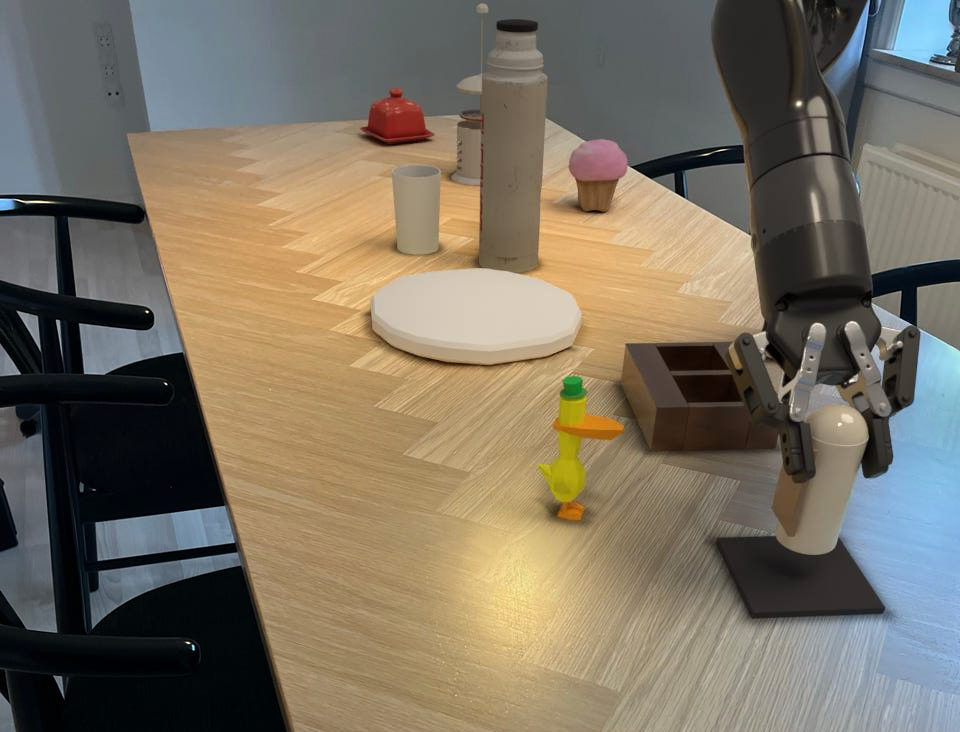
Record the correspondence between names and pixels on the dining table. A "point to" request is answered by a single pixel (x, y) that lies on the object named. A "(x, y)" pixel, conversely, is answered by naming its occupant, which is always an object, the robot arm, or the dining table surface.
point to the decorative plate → (475, 316)
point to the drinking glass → (417, 208)
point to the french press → (470, 127)
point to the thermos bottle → (512, 149)
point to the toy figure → (574, 446)
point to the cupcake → (597, 172)
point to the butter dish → (396, 120)
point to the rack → (689, 398)
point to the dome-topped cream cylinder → (822, 482)
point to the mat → (796, 580)
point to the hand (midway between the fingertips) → (840, 476)
